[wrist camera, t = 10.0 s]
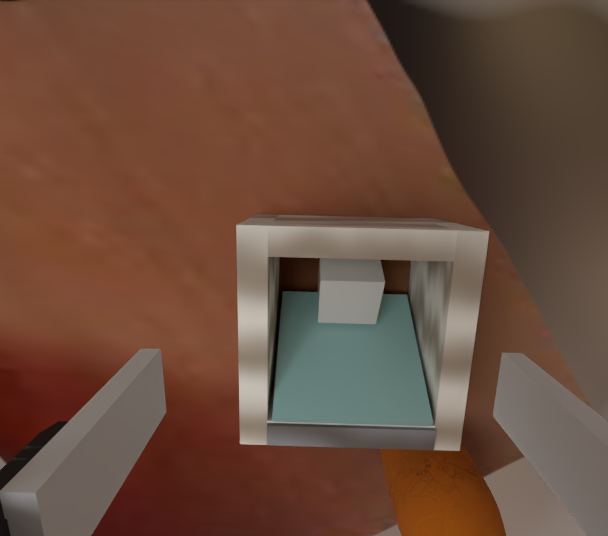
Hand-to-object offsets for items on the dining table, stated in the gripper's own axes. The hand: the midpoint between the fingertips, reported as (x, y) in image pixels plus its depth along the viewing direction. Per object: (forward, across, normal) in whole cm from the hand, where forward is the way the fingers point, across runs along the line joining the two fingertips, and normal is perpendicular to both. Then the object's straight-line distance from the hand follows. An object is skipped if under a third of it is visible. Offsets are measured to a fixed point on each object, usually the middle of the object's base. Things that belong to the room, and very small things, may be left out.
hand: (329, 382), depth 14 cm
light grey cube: (+25, +3, -5) cm, 26 cm away
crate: (+28, +3, -6) cm, 29 cm away
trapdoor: (+21, +3, -10) cm, 24 cm away
